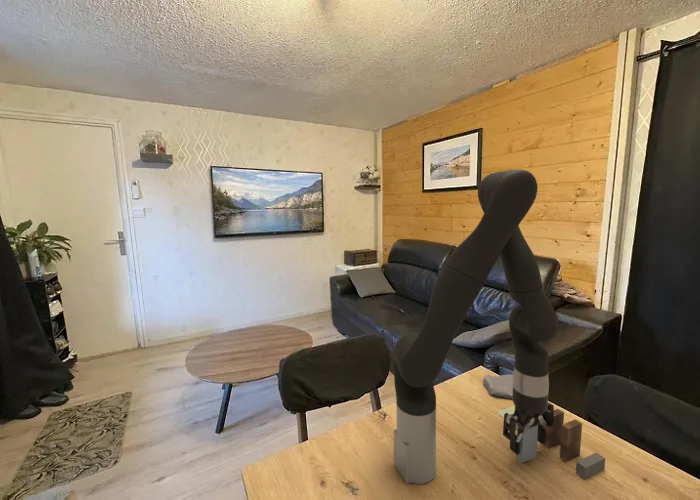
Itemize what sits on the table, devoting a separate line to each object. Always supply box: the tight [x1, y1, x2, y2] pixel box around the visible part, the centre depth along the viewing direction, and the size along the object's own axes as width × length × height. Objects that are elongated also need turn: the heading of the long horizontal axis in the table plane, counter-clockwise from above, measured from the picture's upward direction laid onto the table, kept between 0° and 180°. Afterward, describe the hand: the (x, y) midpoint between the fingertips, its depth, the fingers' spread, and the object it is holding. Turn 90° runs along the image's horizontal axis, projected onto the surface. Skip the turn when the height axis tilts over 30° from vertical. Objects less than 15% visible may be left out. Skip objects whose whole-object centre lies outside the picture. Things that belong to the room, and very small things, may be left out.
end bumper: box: [575, 452, 606, 480], centre depth 74 cm, size 7×2×3 cm, turn 111°
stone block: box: [482, 374, 513, 400], centre depth 106 cm, size 12×5×10 cm
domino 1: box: [515, 424, 538, 464], centre depth 78 cm, size 5×2×9 cm, turn 111°
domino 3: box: [559, 418, 583, 463], centre depth 78 cm, size 5×2×9 cm, turn 111°
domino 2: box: [542, 408, 565, 450], centre depth 82 cm, size 5×2×9 cm, turn 111°
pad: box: [495, 405, 515, 419], centre depth 95 cm, size 7×4×1 cm, turn 111°
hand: (527, 446), depth 78 cm, fingers open, 8 cm apart
